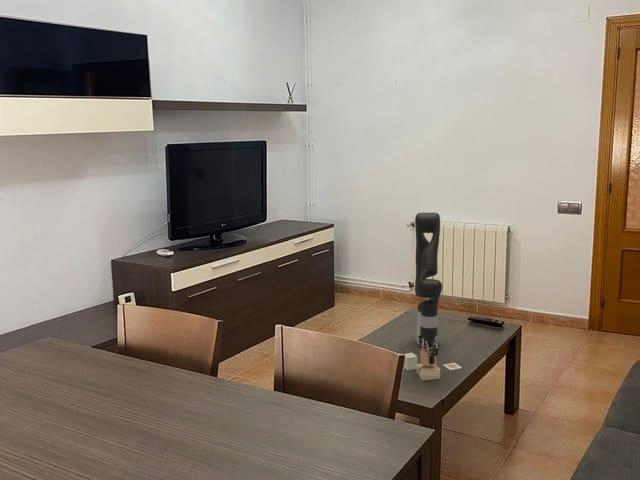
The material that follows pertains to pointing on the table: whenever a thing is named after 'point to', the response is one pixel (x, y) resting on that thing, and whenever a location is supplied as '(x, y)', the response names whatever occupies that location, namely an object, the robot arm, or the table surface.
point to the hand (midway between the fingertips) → (428, 361)
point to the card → (452, 366)
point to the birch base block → (428, 372)
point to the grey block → (410, 361)
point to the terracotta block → (426, 357)
